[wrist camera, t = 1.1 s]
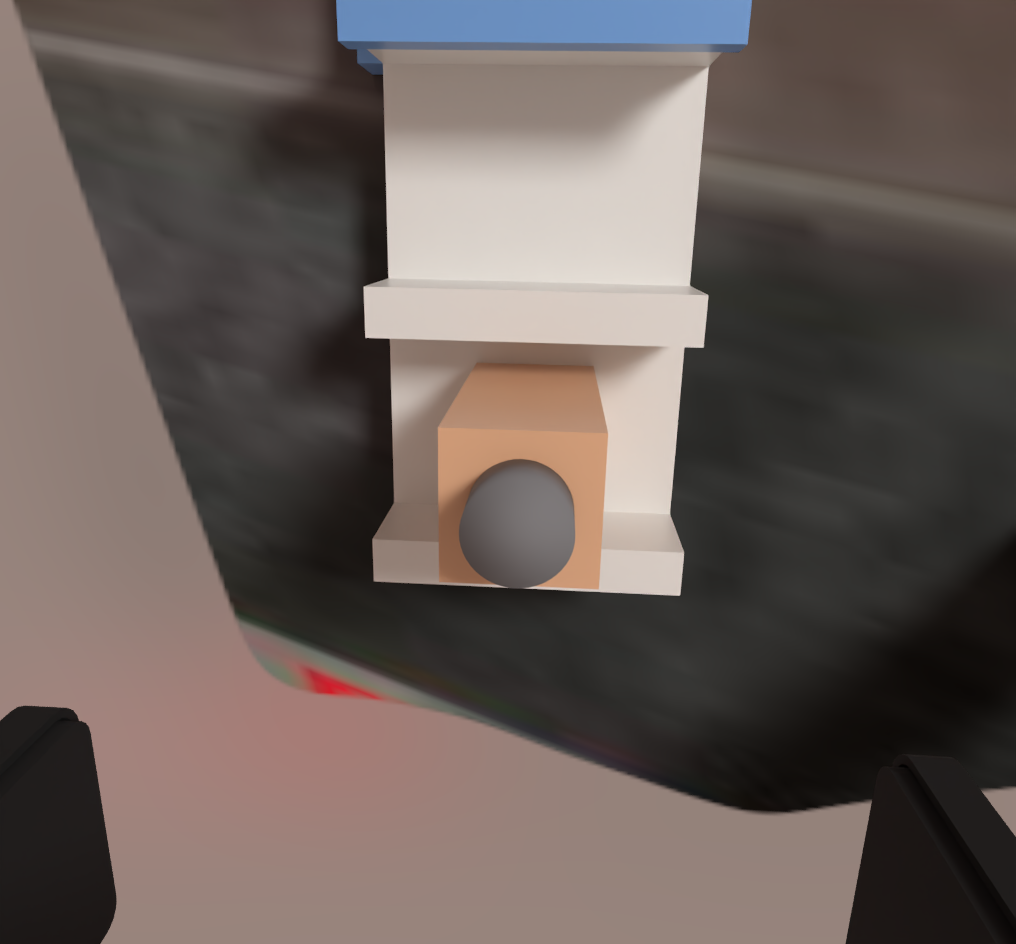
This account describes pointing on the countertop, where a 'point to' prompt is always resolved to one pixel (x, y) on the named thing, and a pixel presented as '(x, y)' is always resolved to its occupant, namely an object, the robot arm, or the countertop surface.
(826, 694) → the countertop surface
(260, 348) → the countertop surface
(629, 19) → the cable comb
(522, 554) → the cord plug
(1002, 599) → the countertop surface
